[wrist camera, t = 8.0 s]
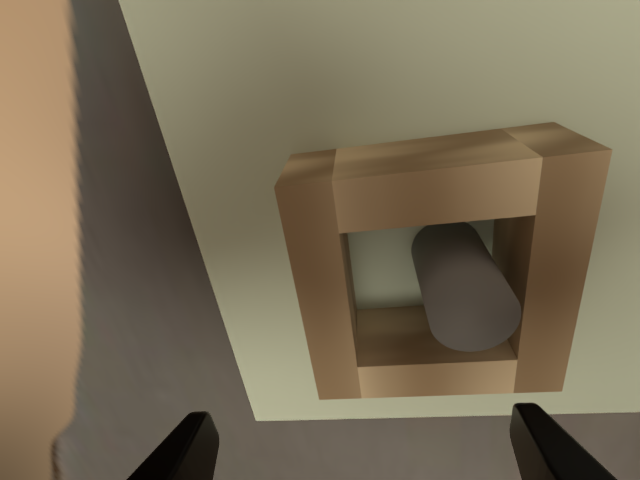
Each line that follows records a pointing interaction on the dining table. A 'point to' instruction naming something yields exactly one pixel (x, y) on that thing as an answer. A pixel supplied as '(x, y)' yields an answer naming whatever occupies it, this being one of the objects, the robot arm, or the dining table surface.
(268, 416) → the pale green base plate
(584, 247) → the square wooden frame
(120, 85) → the dining table surface
